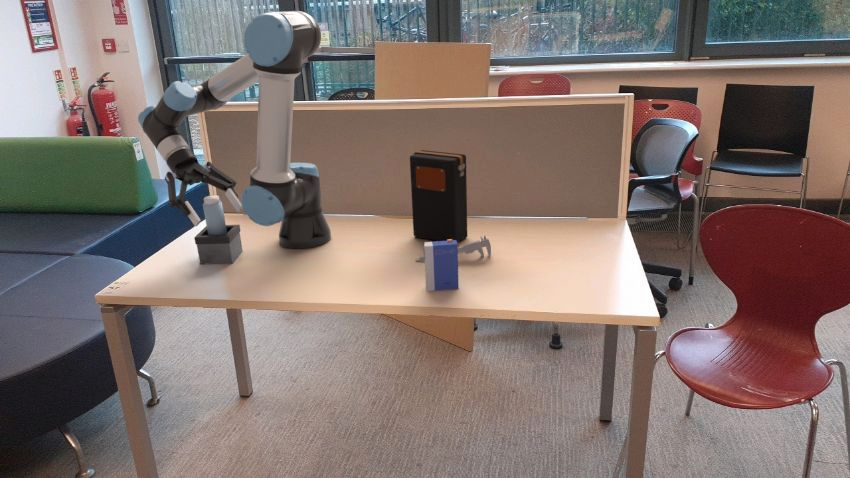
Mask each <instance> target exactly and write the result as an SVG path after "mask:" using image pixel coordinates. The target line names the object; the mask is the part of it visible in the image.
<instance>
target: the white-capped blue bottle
mask: <svg viewBox="0 0 850 478" xmlns="http://www.w3.org/2000/svg"><path fill="white" fill-rule="evenodd" d="M202 207H203V208H202V209H203V213H204V220H205V225H206V226H207V231H208V235H226V234H227V229H226V225H227V224H226V223H227V222H226V218H225V213H224V206H223V202H222V200H221V199H220V196H219V195H216V194H215V195H214V194H213V195H208V196H207V195H206V196H205V197H204V198H203V203H202ZM206 226H205V227H206Z"/></svg>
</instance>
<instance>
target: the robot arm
mask: <svg viewBox="0 0 850 478" xmlns="http://www.w3.org/2000/svg"><path fill="white" fill-rule="evenodd" d="M321 43H322V31H321V28H320V25H319V23H318V21H316V19H315V18H314V17H313V16H311V15H310V14H309V13H307V12H304V11H300V10H291V11H268V12H265V13H261V14H258V15H256V16H255V17H253V18H252V19H251V20H250V21H249V22H248V24H247V25H246V28H245V30H244V35H243V45H244V49H245V52H246V54H244V55H242V57H240V58H239V59H237V60H236V61H233V63H231V64H230V65H228V66H227V67H225V68H223V69H222V70H220V71H218V72H217V73H215V74H214V75H212V76H211V77H209V78H208V79H207V80H205V81H203V82H201V83H200V84H196V85H195V84H194V85H190V84H188V83H187V82H184V81H183V82H182V81H180V80H175V81H173V82H172V83H170V84H169V86H168V87H167V88H166V90H164V92H163V94H162V97H161V98H160V99H159V100H158V103H157V104H156V105H149V106H147V107H145V108H144V110H141V112H139V114H138V116H137V121H138V123H139V125H140V126H141V129H142V131H143V132H144V134H145V135H146V136H147V137H148V139H149V141H150V142H151V143H152V145H153V146H154V147H155V149H156V150H157V152H158V153H159V154H160V156H161V158H162V159H163V160H164V162H165V163H166V165H167V167H168V168H169V169H170V171H167V172H166V175H165V176H164V180H165V182H166V184H167V193H168V194H167V195H168V204H169V207H171V208H174V207H176V209H177V210H181V212H182V214H183V215H184V216H185V217H188V218H189V219H190V221H191V222H192V224H193V225H194V227H195V228H196V227H198V226H199V225H200V223H201V221H202V220H201V218H200V217H199V215H198V214H197V212H196V210H194V208H193V206H192V205H191V204H190V202H189V201H188V200H186V201H185V198H186V193H187V189H188V185H189V186H193V185H194V184H200V183H202V184H207V185H210V186H212V187H215V188H217V189H219V190H222V191H223V192H225V193H224V194H225V196H226V198H227V199H228V201H229V202H230V203H231V205H232V206H233V208H234V210H235V211H236V212H237V213H239V212H241V210H242V209H243V211H244V213H245V215H247V217H248V218H249V219H250V220H251V221H252V222H254V224H257V225H259V226H263V227H270V226H271V227H272V226H273V225H276V224H279V223H280V228H279V231H278V240H279V241H278V242H279V244H280V245H281V246H282V247H285V248H288V249H309V248H314V247H319V246H321V245H324V244H326V243H328V242H329V241H330V240H331V239H332V233H331V228H330V226H329V224H328V221H327V219H326V218H325V217H326V216H325V215H324V213H323V205H322V193H321V185H320V184H321V183H320V174H319V169H318V166H317V165H316V164H314V163H311V162H291V156H292V155H291V154H292V152H291V151H292V137H293V136H292V135H293V114H294V98H295V97H294V96H295V79H296V78H297V77H298V76H300V74H301V73H302V65H303V63H302V61H303V60H305V59H307V58H309V57H312V56H313V55H314V54H315V53H316V52H317V51H318V49H319V48H320V45H321ZM257 83H258V99H257V100H258V101H257V102H258V104H257V106H258V107H257V133H256V136H257V137H256V139H257V140H256V142H257V143H256V144H257V145H256V166H255V167H254V168H253V169H252V170H251V171H250V174H249V175H250V177H249V179H250V180H249V186H247V187H246V188H245V189H244V190H243V192H242V194H241V197H240V200H239V194H238V193H237V192H236V190H235V189H234V188H235V187H236V185H237V181H236V180H234V179H233V178H232V177H230V176H229V175H227V174H226V173H224V172H223V171H221V170H220V169H218V168H217V167H215V166H214V165H213V163H212V162H211V161H207V162H206V163H205V164H203V165H202V164H200V163H199V160H198V158H197V156H196V155H195V153H194V152H193V150H192V149H190V146H189V144H188V143H187V142H186V140H185V139H184V138H183V136H182V135H181V133H180V132H179V131H178V128H179V127H180V125H181V124H182V123H183V122H184V120H185V118H186V117H189V116H193V115H197V114H201V113H205V112H208V111H212V110H214V111H215V110H217V109H219V108H221V107H224V106H225V105H226V104H227V103H228V100H230V99H232V98H234V97H235V96H236V95H239V94H240V93H241V92H243V91H245V90H247V89H248V88H250V87H252V86H253V85H255V84H257ZM175 180H178V181H180V182H181V183H180V187H179V188H180V189H179V193H178V197H177V192H176V191H177V190H176V181H175ZM177 198H178V199H177Z"/></svg>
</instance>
